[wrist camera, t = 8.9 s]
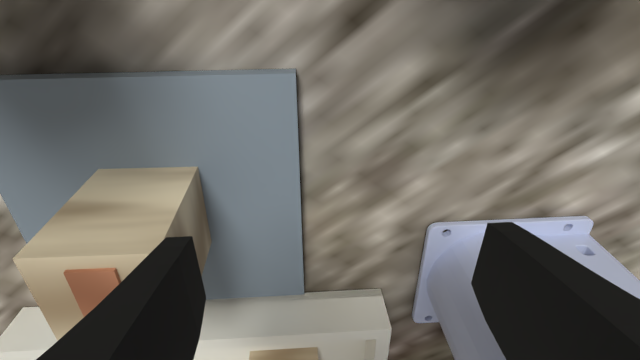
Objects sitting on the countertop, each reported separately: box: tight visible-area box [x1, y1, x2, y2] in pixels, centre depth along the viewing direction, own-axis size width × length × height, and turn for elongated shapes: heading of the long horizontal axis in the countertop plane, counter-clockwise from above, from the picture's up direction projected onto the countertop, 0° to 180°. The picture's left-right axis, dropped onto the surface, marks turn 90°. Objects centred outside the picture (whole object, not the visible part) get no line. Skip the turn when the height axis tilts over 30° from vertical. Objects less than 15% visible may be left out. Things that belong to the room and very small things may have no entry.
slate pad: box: [0, 69, 304, 300], centre depth 19 cm, size 14×13×1 cm
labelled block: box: [13, 167, 212, 341], centre depth 16 cm, size 4×4×6 cm
